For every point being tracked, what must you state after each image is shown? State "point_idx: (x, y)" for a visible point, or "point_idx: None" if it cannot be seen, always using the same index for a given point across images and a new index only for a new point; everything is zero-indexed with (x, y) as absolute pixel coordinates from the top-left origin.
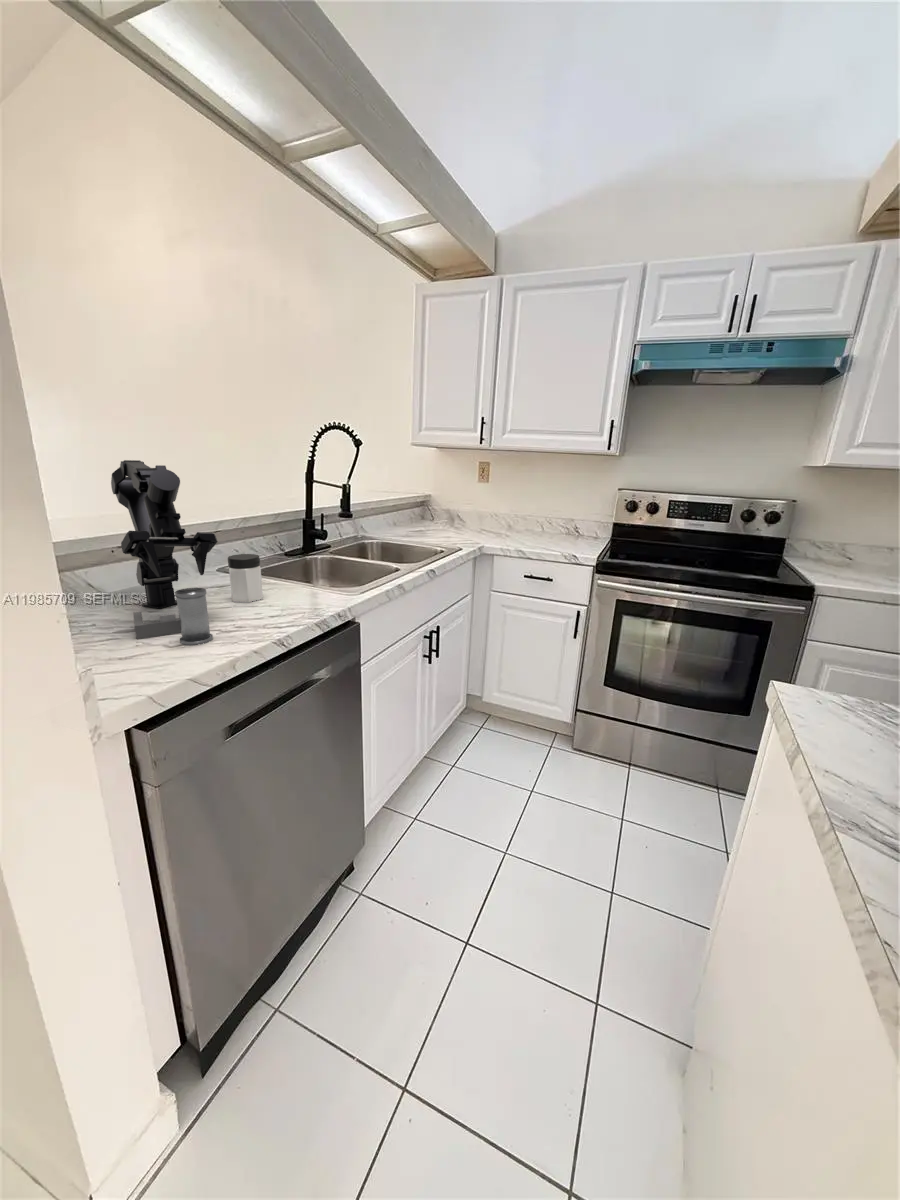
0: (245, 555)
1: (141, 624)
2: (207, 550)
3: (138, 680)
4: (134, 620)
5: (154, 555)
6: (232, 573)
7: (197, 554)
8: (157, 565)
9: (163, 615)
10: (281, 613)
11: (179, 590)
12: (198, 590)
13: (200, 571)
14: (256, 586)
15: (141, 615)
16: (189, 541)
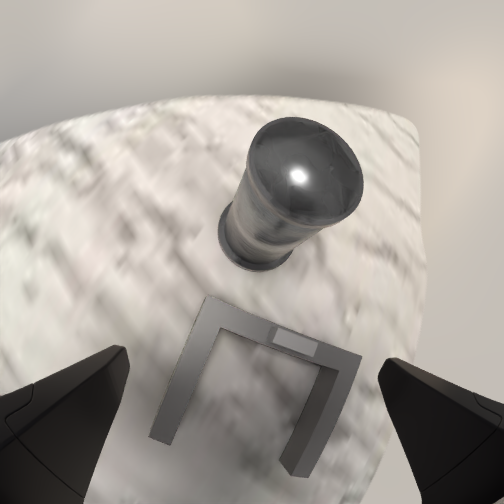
0: None
1: (347, 359)
2: None
3: (392, 155)
4: (341, 408)
5: (481, 409)
6: None
7: (59, 488)
8: (431, 378)
9: (306, 343)
10: (6, 240)
11: (337, 212)
12: (284, 147)
13: (121, 373)
14: None
15: (309, 442)
16: None
